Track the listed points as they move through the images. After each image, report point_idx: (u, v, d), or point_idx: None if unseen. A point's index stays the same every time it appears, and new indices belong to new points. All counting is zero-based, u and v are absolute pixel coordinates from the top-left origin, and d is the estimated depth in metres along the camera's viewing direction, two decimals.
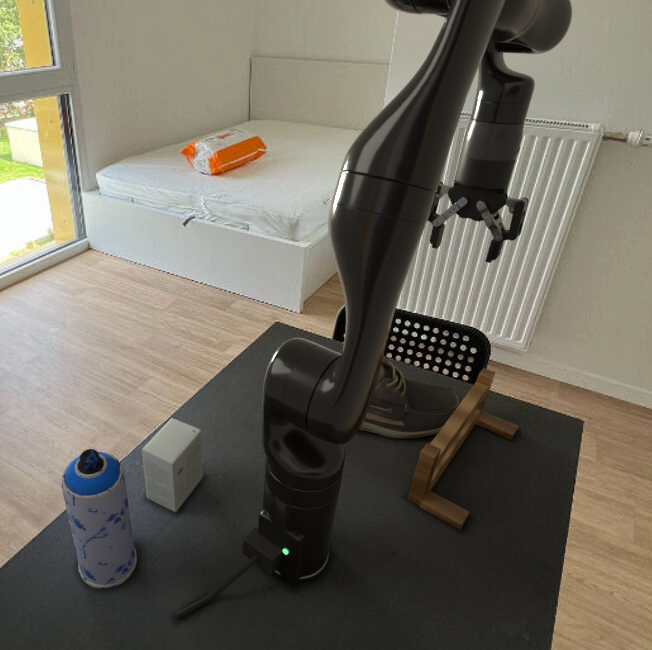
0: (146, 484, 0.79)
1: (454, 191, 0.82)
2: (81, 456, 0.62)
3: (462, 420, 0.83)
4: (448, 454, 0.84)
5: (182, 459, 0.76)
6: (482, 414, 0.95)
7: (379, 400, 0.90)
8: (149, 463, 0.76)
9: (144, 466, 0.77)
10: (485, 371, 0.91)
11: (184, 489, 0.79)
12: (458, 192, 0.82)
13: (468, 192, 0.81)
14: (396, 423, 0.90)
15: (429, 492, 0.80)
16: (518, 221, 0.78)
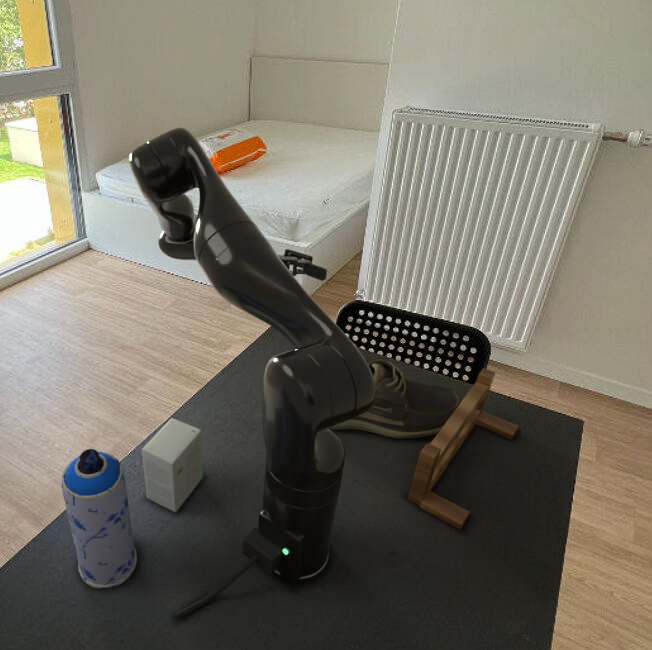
0: (146, 484, 0.79)
1: None
2: (81, 456, 0.62)
3: (462, 420, 0.83)
4: (448, 454, 0.84)
5: (182, 459, 0.76)
6: (482, 414, 0.95)
7: (379, 400, 0.90)
8: (149, 463, 0.76)
9: (144, 466, 0.77)
10: (485, 371, 0.91)
11: (184, 489, 0.79)
12: None
13: None
14: (396, 423, 0.90)
15: (429, 492, 0.80)
16: (299, 253, 1.01)
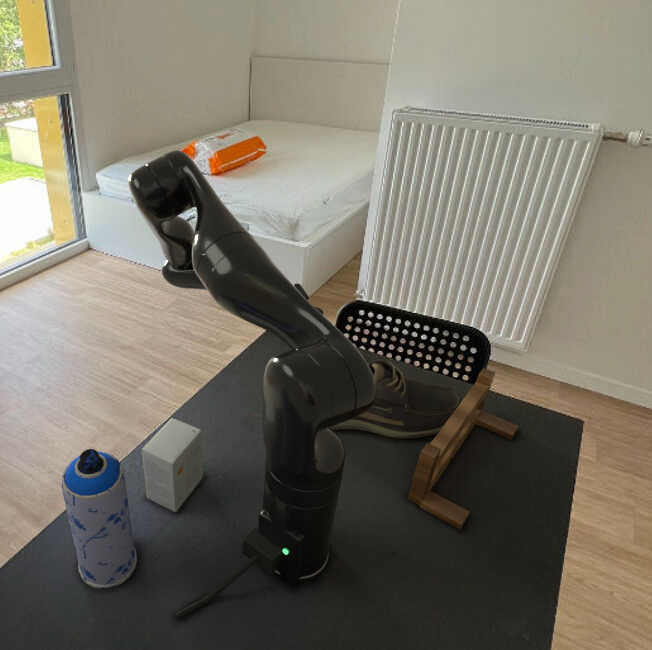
0: (146, 484, 0.79)
1: None
2: (81, 456, 0.62)
3: (462, 420, 0.83)
4: (448, 454, 0.84)
5: (182, 459, 0.76)
6: (482, 414, 0.95)
7: (379, 400, 0.90)
8: (149, 463, 0.76)
9: (144, 466, 0.77)
10: (485, 371, 0.91)
11: (184, 489, 0.79)
12: None
13: None
14: (396, 423, 0.90)
15: (429, 492, 0.80)
16: (303, 290, 1.01)
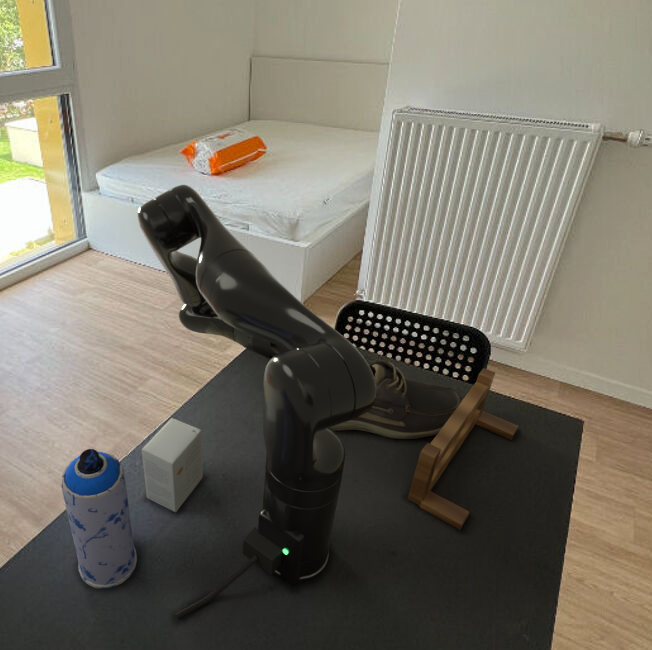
0: (146, 484, 0.79)
1: (278, 348, 1.01)
2: (81, 456, 0.62)
3: (462, 420, 0.83)
4: (448, 454, 0.84)
5: (182, 459, 0.76)
6: (482, 414, 0.95)
7: (380, 401, 0.90)
8: (149, 463, 0.76)
9: (144, 466, 0.77)
10: (485, 371, 0.91)
11: (184, 489, 0.79)
12: (278, 347, 1.01)
13: None
14: (397, 424, 0.90)
15: (429, 492, 0.80)
16: None
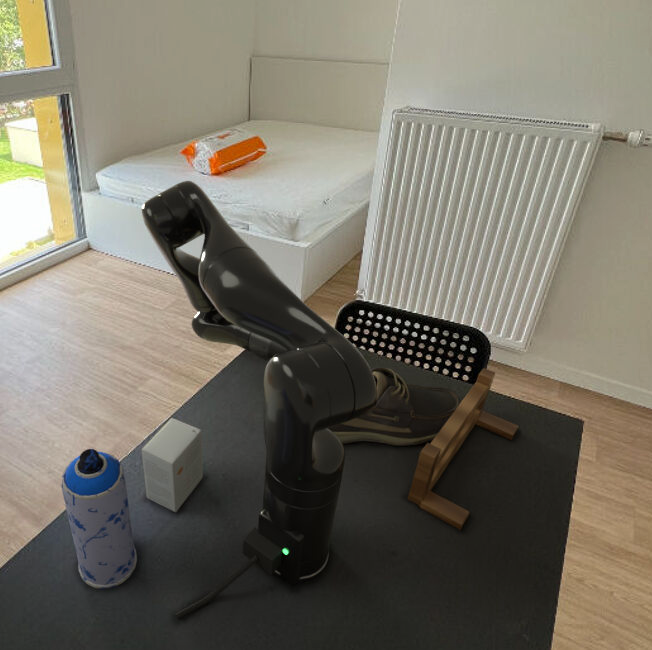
0: (146, 484, 0.79)
1: None
2: (81, 456, 0.62)
3: (462, 420, 0.83)
4: (448, 454, 0.84)
5: (182, 459, 0.76)
6: (482, 414, 0.95)
7: (385, 409, 0.88)
8: (149, 463, 0.76)
9: (144, 466, 0.77)
10: (485, 371, 0.91)
11: (184, 489, 0.79)
12: None
13: None
14: (403, 431, 0.89)
15: (429, 492, 0.80)
16: None
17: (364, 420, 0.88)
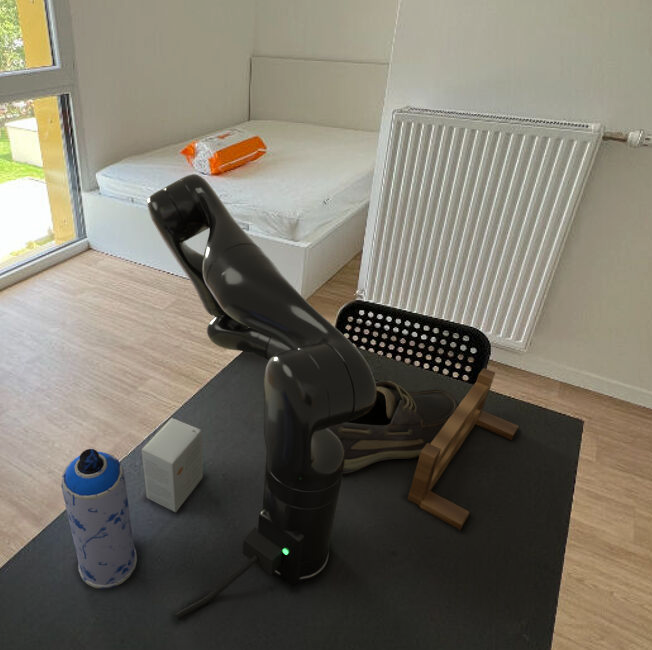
0: (146, 484, 0.79)
1: None
2: (81, 456, 0.62)
3: (462, 420, 0.83)
4: (448, 454, 0.84)
5: (182, 459, 0.76)
6: (482, 414, 0.95)
7: (399, 425, 0.84)
8: (149, 463, 0.76)
9: (144, 466, 0.77)
10: (485, 371, 0.91)
11: (184, 489, 0.79)
12: None
13: None
14: (417, 442, 0.86)
15: (429, 492, 0.80)
16: None
17: (381, 440, 0.84)
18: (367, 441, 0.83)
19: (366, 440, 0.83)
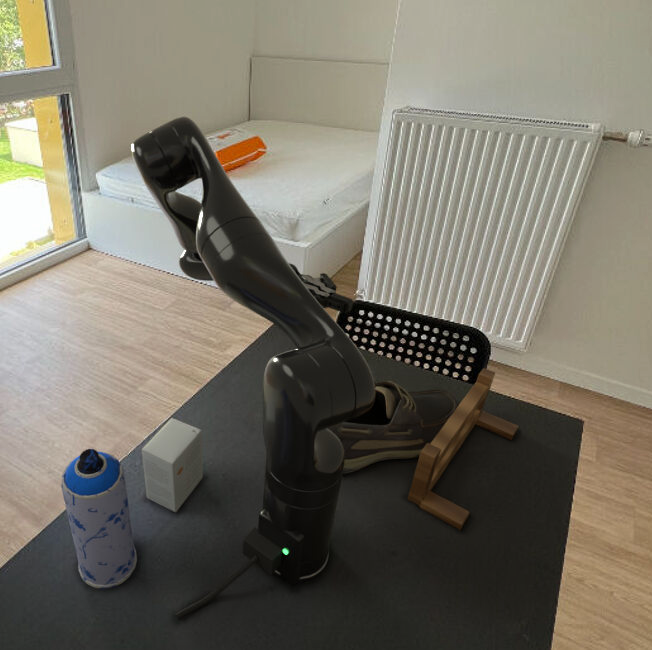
0: (146, 484, 0.79)
1: None
2: (81, 456, 0.62)
3: (462, 420, 0.83)
4: (448, 454, 0.84)
5: (182, 459, 0.76)
6: (482, 414, 0.95)
7: (399, 425, 0.84)
8: (149, 463, 0.76)
9: (144, 466, 0.77)
10: (485, 371, 0.91)
11: (184, 489, 0.79)
12: None
13: None
14: (417, 442, 0.86)
15: (429, 492, 0.80)
16: (330, 280, 0.96)
17: (381, 440, 0.84)
18: (367, 441, 0.83)
19: (366, 440, 0.83)
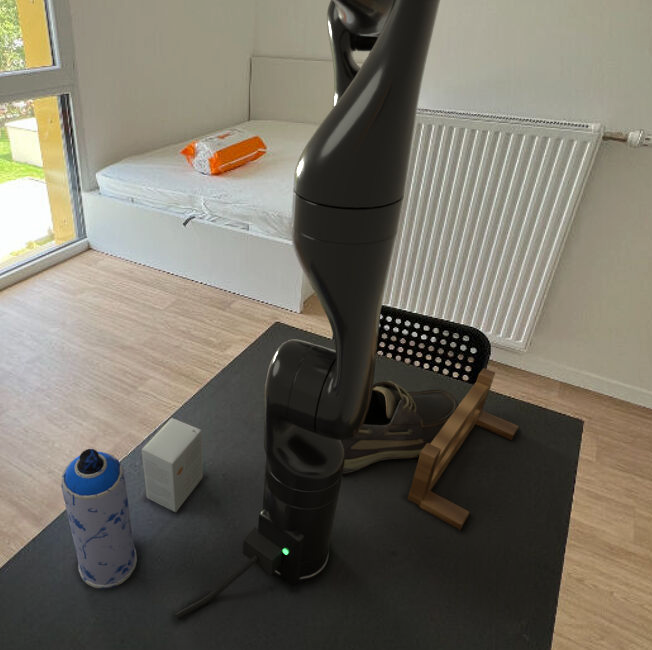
0: (146, 484, 0.79)
1: None
2: (81, 456, 0.62)
3: (462, 420, 0.83)
4: (448, 454, 0.84)
5: (182, 459, 0.76)
6: (482, 414, 0.95)
7: (399, 425, 0.84)
8: (149, 463, 0.76)
9: (144, 466, 0.77)
10: (485, 371, 0.91)
11: (184, 489, 0.79)
12: None
13: None
14: (417, 442, 0.86)
15: (429, 492, 0.80)
16: None
17: (381, 440, 0.84)
18: (367, 441, 0.83)
19: (366, 440, 0.83)
